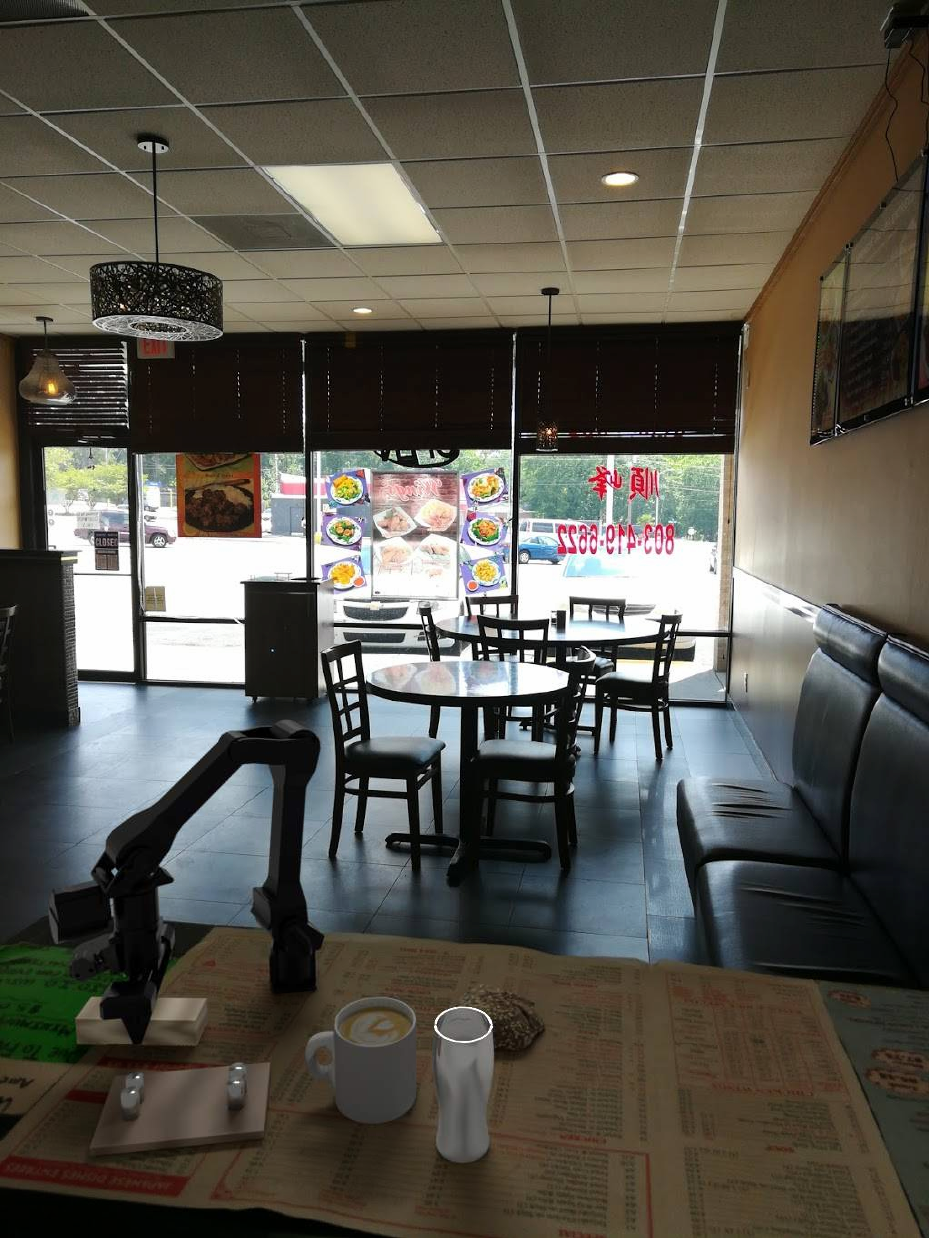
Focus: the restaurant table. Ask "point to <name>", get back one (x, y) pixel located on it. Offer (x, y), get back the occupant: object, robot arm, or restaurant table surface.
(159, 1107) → the peg holder
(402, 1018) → the coffee mug
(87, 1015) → the pine board
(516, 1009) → the bread roll
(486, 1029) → the beer glass
